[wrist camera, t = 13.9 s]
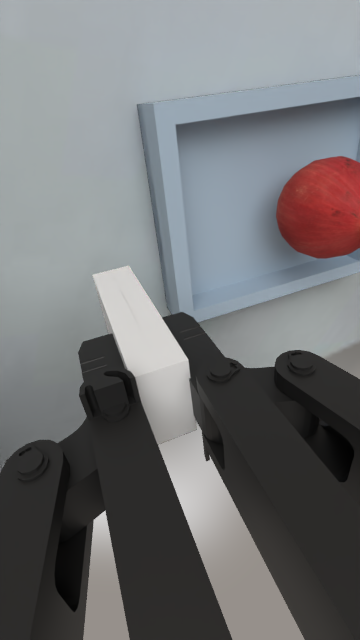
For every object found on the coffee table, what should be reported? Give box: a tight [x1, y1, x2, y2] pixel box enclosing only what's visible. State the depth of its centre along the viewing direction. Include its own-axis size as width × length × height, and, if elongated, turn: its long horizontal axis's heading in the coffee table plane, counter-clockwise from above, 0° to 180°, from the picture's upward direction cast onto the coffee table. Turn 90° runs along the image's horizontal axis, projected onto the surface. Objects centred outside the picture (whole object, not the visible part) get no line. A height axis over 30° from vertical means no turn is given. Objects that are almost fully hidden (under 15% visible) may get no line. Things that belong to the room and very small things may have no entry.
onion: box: [276, 156, 360, 259], centre depth 21 cm, size 6×6×8 cm
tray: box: [137, 75, 360, 322], centre depth 23 cm, size 16×13×3 cm
